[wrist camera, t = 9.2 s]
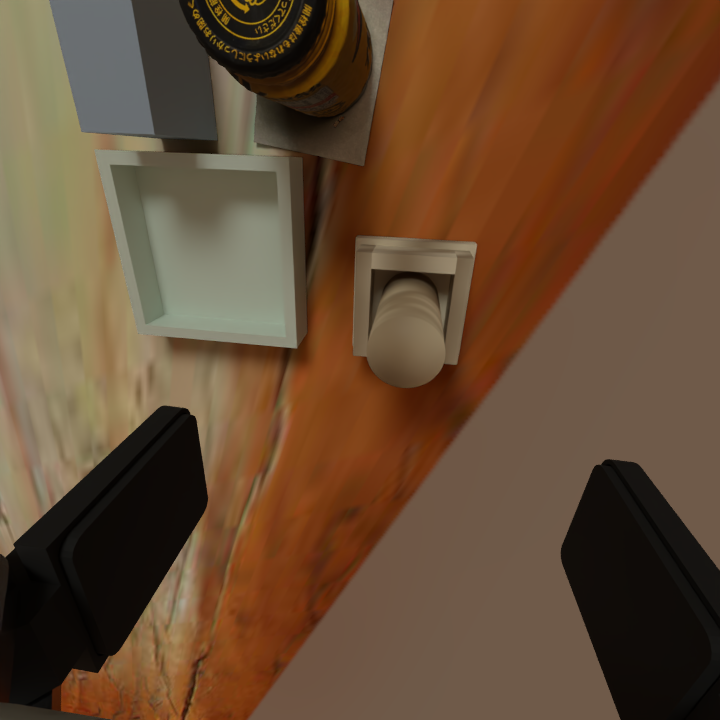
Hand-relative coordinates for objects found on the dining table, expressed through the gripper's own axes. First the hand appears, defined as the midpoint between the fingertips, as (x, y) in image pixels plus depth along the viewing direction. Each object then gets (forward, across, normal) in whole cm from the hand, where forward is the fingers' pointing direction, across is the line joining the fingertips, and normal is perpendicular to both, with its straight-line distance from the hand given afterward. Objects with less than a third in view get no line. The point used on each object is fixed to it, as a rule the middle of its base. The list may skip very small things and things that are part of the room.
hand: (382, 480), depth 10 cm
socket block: (+21, -1, +2) cm, 21 cm away
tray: (+21, +13, -1) cm, 25 cm away
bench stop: (+21, +15, -11) cm, 28 cm away
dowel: (+20, -1, +2) cm, 20 cm away
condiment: (+21, +6, -11) cm, 25 cm away
